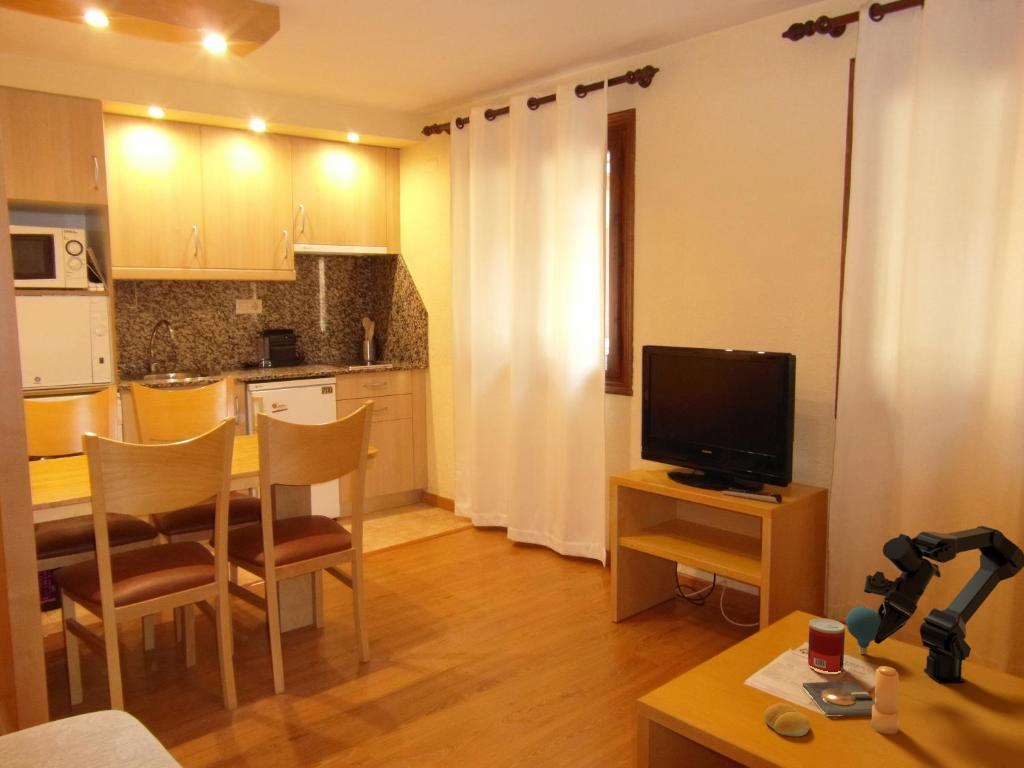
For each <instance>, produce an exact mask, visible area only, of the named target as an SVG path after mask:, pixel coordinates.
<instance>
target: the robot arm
mask: <svg viewBox="0 0 1024 768" xmlns="http://www.w3.org/2000/svg"><path fill="white" fill-rule="evenodd" d="M973 550H974V551H975V550H978V551H979V552H980V555H979V565H980V566H979V567H978V569H977V570H976V572H975V573H974V574H973V575H972V577H970V579H969V580H968V581H967V583H965V585H964V586H963V588H962V589H961V590H960V591H959V592H958V594H956V596H955V597H954V599H953V600H952V601H951V602H950V603H949V605H948V606H947V607H946V608H945V609H942V610H941V609H938V608H936V607H935V608H933V609H931V610H930V612H929V613H928V614H927V616H926V617H924V618H923V622H922V623H921V625H920V626H919V634H920V638H921V642H922V646H923V647H925V648H928V655H927V656H926V665H925V668H923V672H925V673H926V674H927V675H929V676H930V677H931V678H933V680H934V681H936V682H938V683H939V684H949V683H951V684H952V683H956V684H957V683H966V679H965V678H964V677H962V671H963V670H962V669H963V661H966V659H967V658H969V657H970V653H971V650H972V648H971V647H970V645H969V644H968V643H967V641H966V640H965V639H966V636H967V633H966V631H967V630H966V627H967V626H966V625H967V623H968V622H969V621H970V619H971V618H972V617H973V615H974V614H975V613H976V612H977V610H979V608H980V607H981V606H982V604H984V602H985V601H986V599H988V597H989V596H990V594H991V593H992V592H993V591H994V590H995V588H996V587H997V585H999V583H1000V582H1002V581H1004V580H1005V581H1006V580H1008V579H1011V578H1013V577H1016V575H1017V574H1018V573H1019V572H1020V571H1021V570H1023V568H1024V551H1023V550H1022V549H1021V548H1020V547H1019V546H1018V545H1016V543H1014V542H1012V541H1011V540H1010V539H1009V538H1007V537H1006V536H1005V535H1004V533H1002V531H1000V530H999V529H997V528H992V527H989V526H986V525H979V526H977V527H974V528H970V529H965V530H960V531H959V530H958V531H955V532H950V533H949V532H948V533H941V532H936V531H935V532H934V531H922V532H919V533H918V534H917V536H914V537H912V538H911V537H910V536H909V535H907V534H903V533H900V534H899V535H898V537H893V538H891V539H889V540H888V541H886V542H885V543H884V545H883V546H882V553H883V556H884V557H885V558H886V559H887V560H888V561H889V562H890V563H891V564H893V566H894V567H895V568H896V569H897V570H899V572H901V573H900V575H899V576H898V577H896V578H895V580H894V581H893V580H889V578H886V577H885V574H884V572H883V571H879V570H876V571H875V572H874V573H873V574H872V575H871V574H869V575H866V576H865V581H864V586H863V587H864V588H863V592H864V593H865V594H873V595H879V596H881V597H882V596H883V597H884V599H883V601H882V603H881V604H880V606H879V608H878V610H877V611H876V613H877V614H878V616H879V618H880V624H879V627H878V630H877V633H876V636H875V640H873V642H874V643H875V644H877V645H880V644H881V643H883V642H884V641H885V640H887V639H888V638H889V637H891V636H893V635H894V634H895V633H897V632H898V631H900V630H901V629H903V628H904V627H905V625H906V624H907V622H908V620H910V619H911V618H912V616H913V615H914V613H916V610H917V609H918V606H917V605H918V603H919V600H920V599H921V598H922V596H923V594H924V593H925V590H926V589H927V587H928V586H929V584H930V583H931V581H932V580H933V577H936V578H941V576H942V575H941V571H940V569H939V564H937V563H941V564H945V563H948V562H949V561H951V560H954V559H956V558H957V555H958V554H959V553H964V552H968V551H973ZM930 560H932V561H935V562H937V563H932V562H931V561H930Z"/></svg>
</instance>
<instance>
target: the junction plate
mask: <svg viewBox="0 0 1024 768" xmlns="http://www.w3.org/2000/svg"><path fill="white" fill-rule="evenodd" d="M803 687H804V688H805V689H806V690H807V691H808V692H809V694H810V695H811V696H812V697H813V699H814V700H815V701H816V702H817V704H818V705H819V706H820V708H821V709H822V710H823V711H824V712H825V714H826V715H844V716H843V717H854V716H855V717H857V715H863V716H872V706H873V705H874V704H875V699H874V698H873V696H871V695H869V692H867V691H864V690H863V688H861V686H859V685H858V684H857V683H856V681H853V680H852V681H824V682H823V681H822V682H821V681H820V682H817V681H815V682H803V683H802V688H803ZM820 708H819V709H820ZM825 714H824V715H825ZM826 715H825V716H826Z"/></svg>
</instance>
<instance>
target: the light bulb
mask: <svg viewBox="0 0 1024 768" xmlns="http://www.w3.org/2000/svg"><path fill="white" fill-rule="evenodd" d="M879 624H880V618H879V616H878V614H877V611H875V610H874V609H872V608H870V607H867V606H858V607H857V606H856V607H855V608H852V609H851V610H850V611H849V613H848V614H847V616H846V620H845V625H846V628H847V631H848V632H849V634H850V635H851V636H852V637H853V638H855V640H856V641H857V645H858V647H859V648H858V651H859V653H860V654H862V655H866V654H867V653H868V648H869V646H870V643H871V642H872V641H873V642H874V640H875V636H876V633H877V630H878V627H879Z"/></svg>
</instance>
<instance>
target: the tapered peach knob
mask: <svg viewBox="0 0 1024 768" xmlns="http://www.w3.org/2000/svg"><path fill="white" fill-rule="evenodd" d="M899 678H900V677H899V673H898V672H897V670H896V669H895V668H893V667H890V666H885V665H884V666H883V665H881V666H879V667H878V668H877V669H876V670H875V685H874V701H875V704H874V705H873V706H872V715H871V724H870V725H871V729H873V730H874V731H875V732H878V733H880V734H884V735H895V734H898V732H899V722H900V721H899V720H900V714H899V713H900V711H899V710H898V697H899V696H898V695H899Z"/></svg>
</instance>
